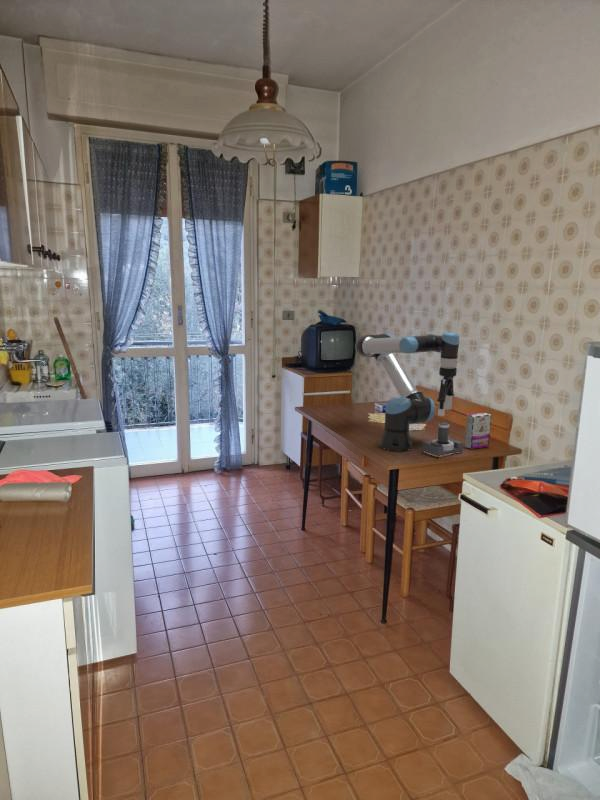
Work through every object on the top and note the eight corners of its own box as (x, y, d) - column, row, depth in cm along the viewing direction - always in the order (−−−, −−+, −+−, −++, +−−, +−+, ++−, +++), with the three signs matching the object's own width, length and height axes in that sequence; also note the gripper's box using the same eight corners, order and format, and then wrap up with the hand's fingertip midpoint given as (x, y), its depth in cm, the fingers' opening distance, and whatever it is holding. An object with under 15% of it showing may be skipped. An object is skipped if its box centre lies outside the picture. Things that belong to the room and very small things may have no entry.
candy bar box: (481, 444, 266) (484, 412, 262) (489, 447, 261) (492, 414, 258) (463, 446, 262) (466, 414, 258) (470, 449, 257) (473, 416, 253)
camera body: (437, 458, 244) (438, 445, 243) (421, 452, 252) (422, 440, 251) (462, 452, 253) (463, 440, 251) (445, 447, 261) (446, 435, 260)
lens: (435, 447, 251) (437, 423, 248) (438, 445, 255) (440, 421, 253) (446, 449, 249) (448, 425, 246) (448, 446, 253) (450, 423, 250)
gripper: (450, 372, 231) (446, 419, 236) (462, 364, 253) (458, 407, 257) (433, 370, 234) (429, 417, 239) (446, 362, 256) (442, 405, 261)
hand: (444, 412), depth 248 cm, fingers open, 13 cm apart
